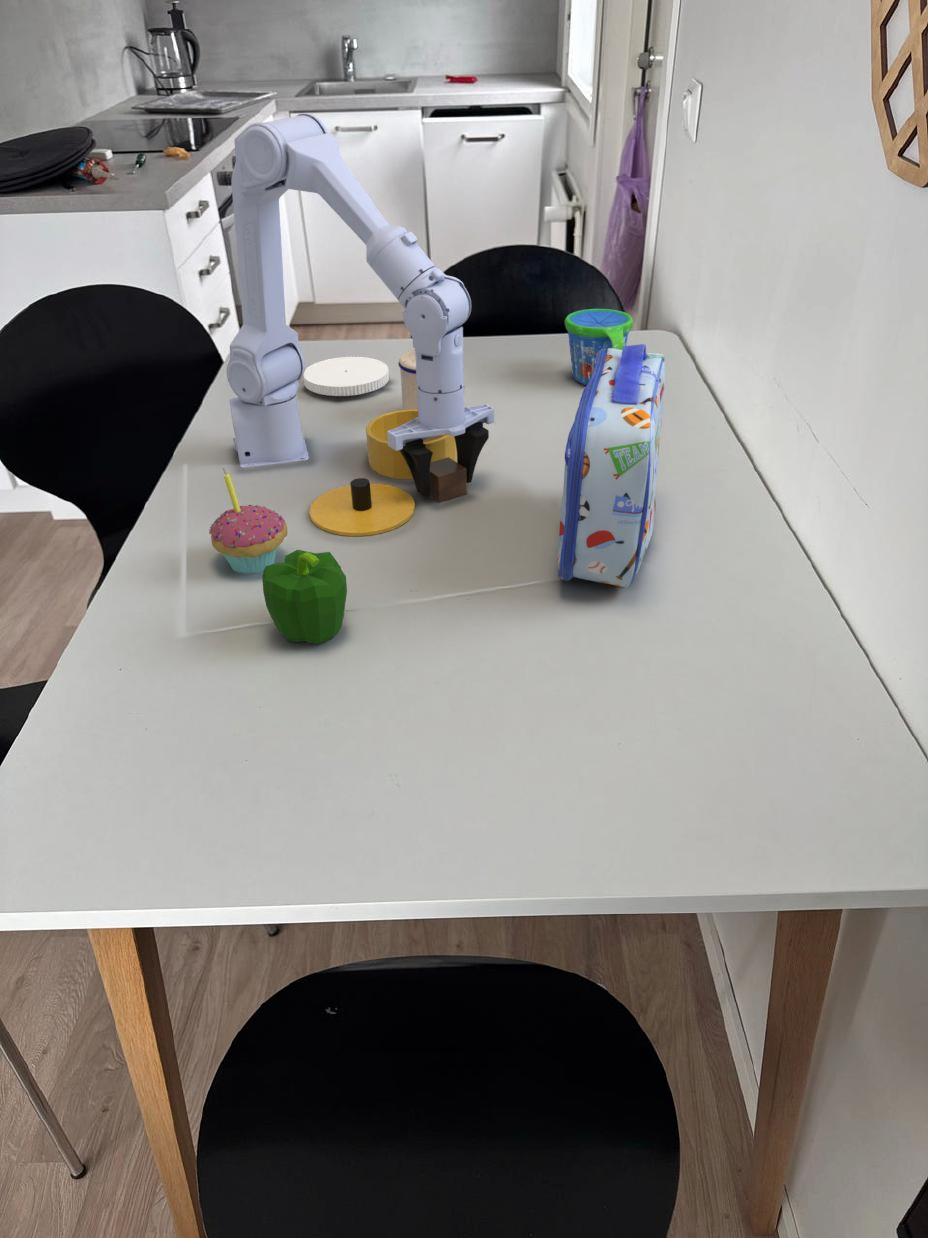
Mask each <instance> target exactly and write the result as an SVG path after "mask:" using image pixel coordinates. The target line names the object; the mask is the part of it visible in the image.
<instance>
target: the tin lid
mask: <svg viewBox="0 0 928 1238" xmlns="http://www.w3.org/2000/svg"><path fill="white" fill-rule="evenodd" d="M415 511H416V502H415V500H414V498H413V496H412V495H411V494H410V493H409V492H407V491H406V490H404V489H402V488H399V487H397V486H394V485H389V484H384V483H375V482H374V483H373V482H371V480H369V479H368V478H365V477H364V478H363V477H358V478H354V479H352V480H351V481H350V484H347V485H342V486H339V487H336V488H333V489H331V490H328V491H326V492H324V493H322V494H320V495H319V496H317V498H316V499H315V500H313V502H312V503H311V504H310V507H309V518H310V521H311V522H312V523H313V525H315V526H316V527H317V528H318V529H320V530H322V531H324V532H327V533H329V534H334V535H338V536H345V537H365V536H366V537H367V536H373V535H374V536H375V535H379V534H383V533H387V532H391V531H393V530H395V529H398V528H400V527H401V526H403V525H404V524H406V523H407V522H409V521H410V520H411V518H412V517H413V516H414V514H415Z"/></svg>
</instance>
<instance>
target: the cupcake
mask: <svg viewBox="0 0 928 1238" xmlns="http://www.w3.org/2000/svg"><path fill="white" fill-rule="evenodd" d="M222 470H223V473H224V474H223V478H224V482H225V485H226V488H227V492H228V496H229V498H230V501H231V504H232V507H233V508H230V509H228V510H225V511H224V512H223V513H220V514H219V516H218V517H217V518H216V519H215V520H214V521H213V523H212V524H210V527H209V529H208V530H209V532H208V534H209V535H210V539H211V545H212V547H213V548H214V550H215V551H217V552H218V553H220V554H221V555H222V556H223V557H224V558H225V559H226V561H227V562H228V564H229V566H230V567H231V569H232V570H233V571H234V572H236V573H238V574H244V575H247V574H249V575H250V574H251V575H252V574H257V573H261V572H262V573H263V572H264V569H265V566H268V565H271V564H274V563H275V561H276V555H277V550H278V548H279V546H280V545H281V544H282V543H283V541H284V539H285V538H286V537H288V526H287V522H286V520H285V519H284V518H283V515H281V514H279V513H278V512H276V511H275V510H274V509H273V510H272V509H270V508H268V507H266V506H261V505H257V504H256V505H254V504H253V505H252V504H248V505H240V504H239V501H238V498H237V494H236V491H235V487H234V484H233V482H232V477H231V475H230V473H227V470H226V468H225V467H222Z"/></svg>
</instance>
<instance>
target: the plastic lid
mask: <svg viewBox="0 0 928 1238" xmlns="http://www.w3.org/2000/svg"><path fill="white" fill-rule="evenodd" d="M302 378H303V379H302V380H303V385H304V387H305V389H307V390H308V391H310V392H312V393H315V394H318V395H321V396H322V395H324V396H331V397H333V396H334V397H337V396H338V397H349V396H357V395H363V394H367V393H371V392H374V391H377V390H379V389H382V387H384V386H386V385H387V384H388V383H389V381H390V369H389V366H388V365H387V364H386V363H385V362H384V361H382V360H379V359H376V358H372V357H365V356H340V357H333V358H329V359H322V360H320V361H317V362H314V363H312V364H310V365H309V366H307V367H305V371H304V374H303V376H302Z"/></svg>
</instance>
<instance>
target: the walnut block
mask: <svg viewBox="0 0 928 1238" xmlns="http://www.w3.org/2000/svg"><path fill="white" fill-rule="evenodd" d="M429 476H430V494H429V496H428V497H430V498H431V499H433V500H434V501H435V502H437V503H438V504H442V503H444V502H448V501H450V500H451V501H452V500H453V499H457V498H460V497H464V496H466V495H468V491H467V490H468V486H467V485H468V483H467V477H466V468H465V467H463V466H462V465H460V464H458V463H457V462H455V461H454V460H452V459H451V458H449V457H448V458H444V459H441V460H438V461H434V462H431V463H430V473H429Z"/></svg>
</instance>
